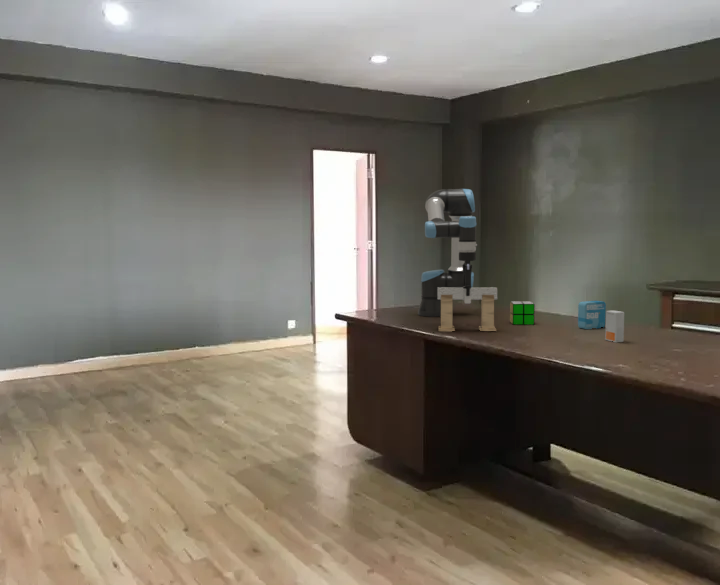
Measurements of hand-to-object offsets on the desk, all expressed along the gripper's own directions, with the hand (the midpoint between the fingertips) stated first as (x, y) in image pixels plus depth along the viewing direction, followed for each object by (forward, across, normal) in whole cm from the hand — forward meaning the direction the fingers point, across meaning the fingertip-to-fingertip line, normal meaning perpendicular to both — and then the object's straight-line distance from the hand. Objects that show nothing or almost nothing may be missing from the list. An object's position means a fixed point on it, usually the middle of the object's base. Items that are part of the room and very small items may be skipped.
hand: (467, 301), depth 298 cm
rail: (-1, 0, 0) cm, 1 cm away
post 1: (+13, 0, +9) cm, 16 cm away
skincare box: (+13, -25, -57) cm, 64 cm away
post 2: (+13, 0, -9) cm, 16 cm away
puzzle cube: (+13, +22, -27) cm, 37 cm away
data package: (+13, +9, -56) cm, 58 cm away
